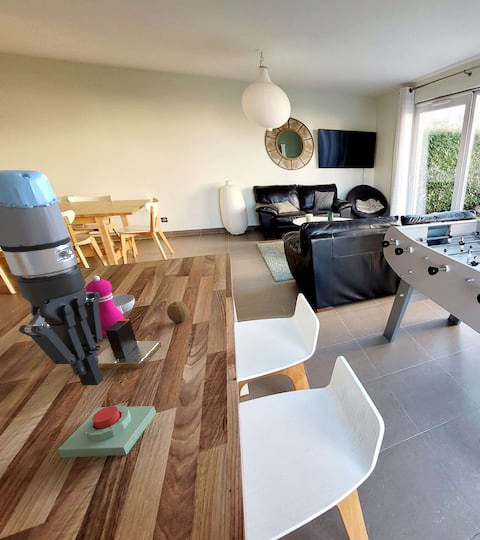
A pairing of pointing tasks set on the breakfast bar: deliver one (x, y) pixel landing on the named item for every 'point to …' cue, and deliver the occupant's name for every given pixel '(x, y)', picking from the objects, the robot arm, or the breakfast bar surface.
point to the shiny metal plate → (129, 356)
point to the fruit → (177, 311)
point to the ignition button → (106, 417)
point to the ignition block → (109, 434)
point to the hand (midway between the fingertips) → (93, 382)
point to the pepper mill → (105, 303)
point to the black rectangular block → (121, 338)
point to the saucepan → (123, 302)
